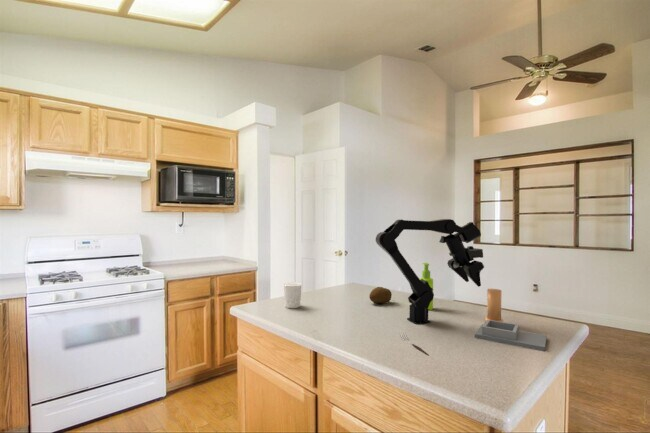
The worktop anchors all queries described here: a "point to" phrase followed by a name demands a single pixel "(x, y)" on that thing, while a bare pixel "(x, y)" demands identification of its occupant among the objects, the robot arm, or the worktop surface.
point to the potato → (380, 295)
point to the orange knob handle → (494, 305)
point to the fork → (413, 344)
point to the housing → (510, 335)
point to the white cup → (292, 295)
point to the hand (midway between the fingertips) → (473, 283)
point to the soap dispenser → (427, 278)
